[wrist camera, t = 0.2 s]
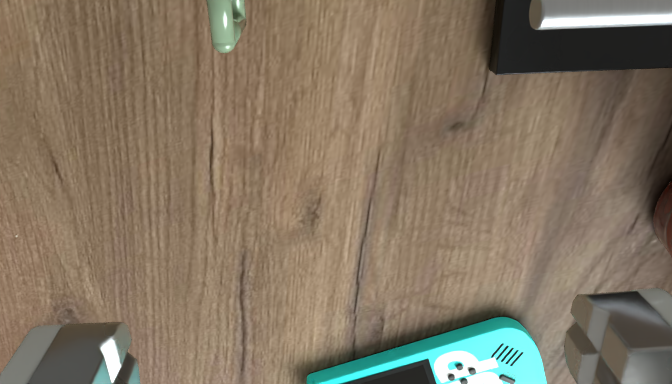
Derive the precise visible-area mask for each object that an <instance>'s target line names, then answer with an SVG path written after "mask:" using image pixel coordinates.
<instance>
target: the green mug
mask: <svg viewBox="0 0 672 384" xmlns="http://www.w3.org/2000/svg"><path fill="white" fill-rule="evenodd" d="M207 7H208V15H209V23H210V32H211V40H212V45H213V47H214V48H215V49H216V50H217V51H218V52H221V53H228V52H230V51H231V50H233V48H234V47H235V45H236V43H237V41H238V39H239V37H240V36H241V34H242V32H243V30H244V28H245V26H246V12H245V1H244V0H207Z"/></svg>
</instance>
